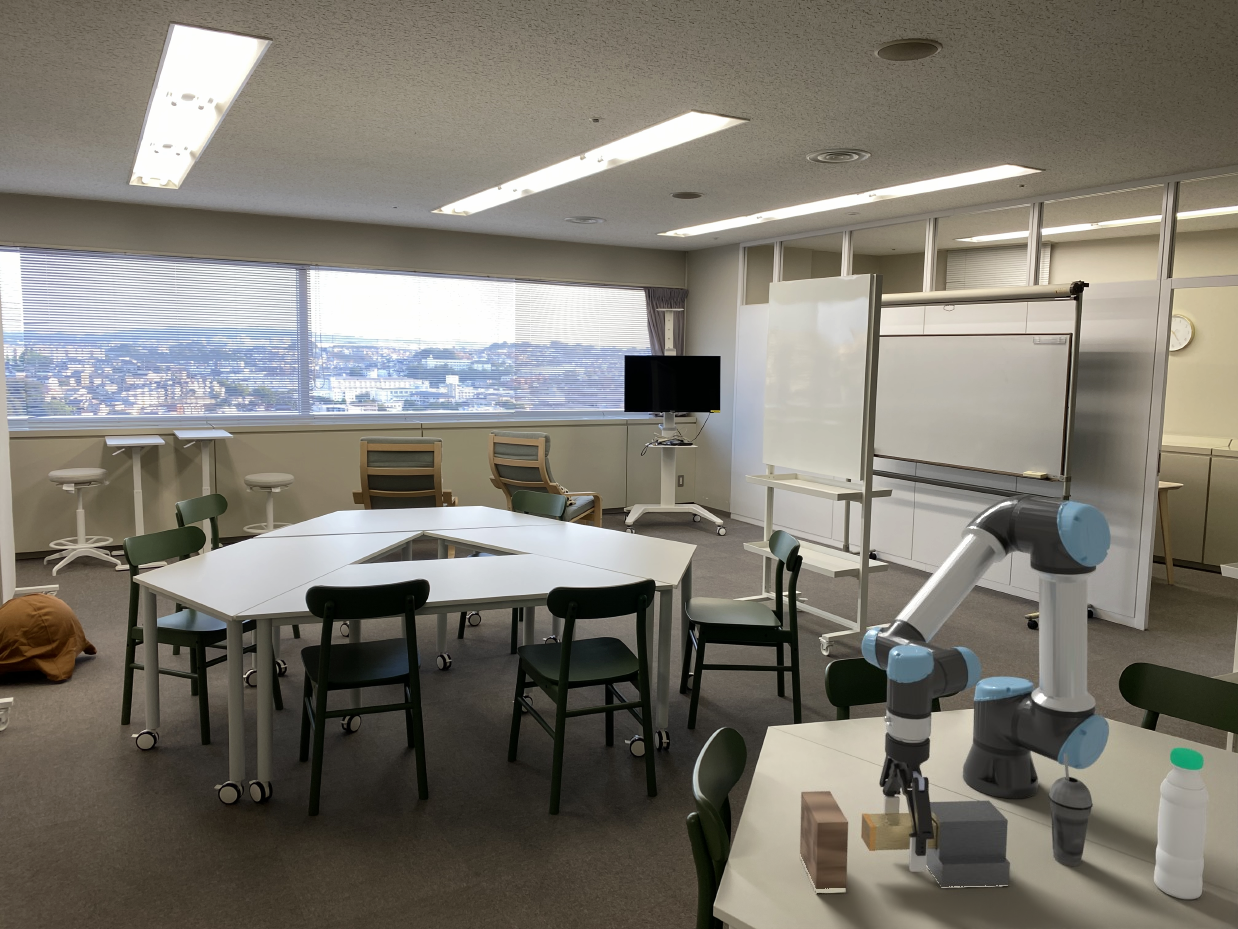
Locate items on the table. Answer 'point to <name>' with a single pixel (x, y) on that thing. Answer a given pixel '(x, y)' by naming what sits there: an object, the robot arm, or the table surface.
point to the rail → (891, 831)
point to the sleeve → (969, 844)
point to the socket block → (824, 839)
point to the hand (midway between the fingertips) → (903, 849)
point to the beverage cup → (1069, 817)
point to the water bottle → (1182, 827)
